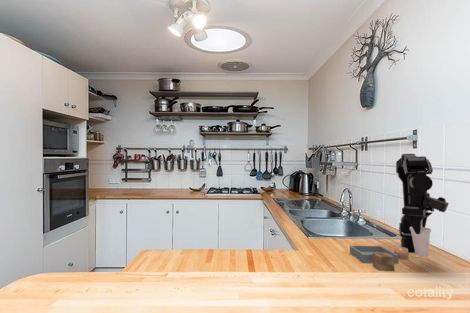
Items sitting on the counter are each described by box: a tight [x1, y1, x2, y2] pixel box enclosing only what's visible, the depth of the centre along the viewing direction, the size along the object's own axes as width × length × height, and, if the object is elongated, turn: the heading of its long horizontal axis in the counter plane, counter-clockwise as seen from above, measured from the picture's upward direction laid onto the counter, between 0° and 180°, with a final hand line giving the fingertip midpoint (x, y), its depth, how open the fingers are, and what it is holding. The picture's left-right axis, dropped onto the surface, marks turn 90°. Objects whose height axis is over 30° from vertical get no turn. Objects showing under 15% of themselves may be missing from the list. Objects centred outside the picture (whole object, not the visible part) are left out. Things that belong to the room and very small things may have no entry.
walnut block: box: [372, 253, 395, 272], centre depth 92 cm, size 5×5×5 cm
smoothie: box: [410, 222, 432, 258], centre depth 92 cm, size 6×6×14 cm
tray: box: [349, 245, 400, 265], centre depth 104 cm, size 13×13×3 cm
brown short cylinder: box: [393, 245, 410, 261], centre depth 104 cm, size 5×5×4 cm
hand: (420, 232), depth 92 cm, fingers closed on smoothie, 6 cm apart
